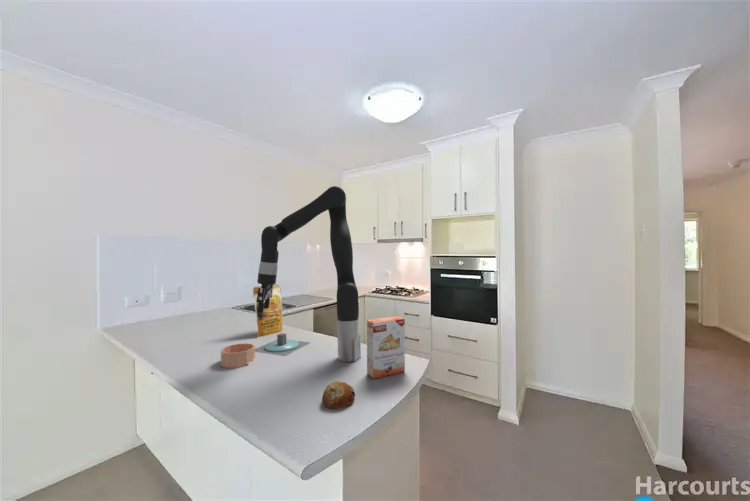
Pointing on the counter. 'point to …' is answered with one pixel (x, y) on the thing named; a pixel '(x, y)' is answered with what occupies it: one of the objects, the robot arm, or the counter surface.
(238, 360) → the bowl
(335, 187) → the robot arm
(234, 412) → the counter surface
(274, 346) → the lid
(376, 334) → the cracker box
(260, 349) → the mat
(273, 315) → the pancake mix bag
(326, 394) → the bread roll
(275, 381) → the counter surface
